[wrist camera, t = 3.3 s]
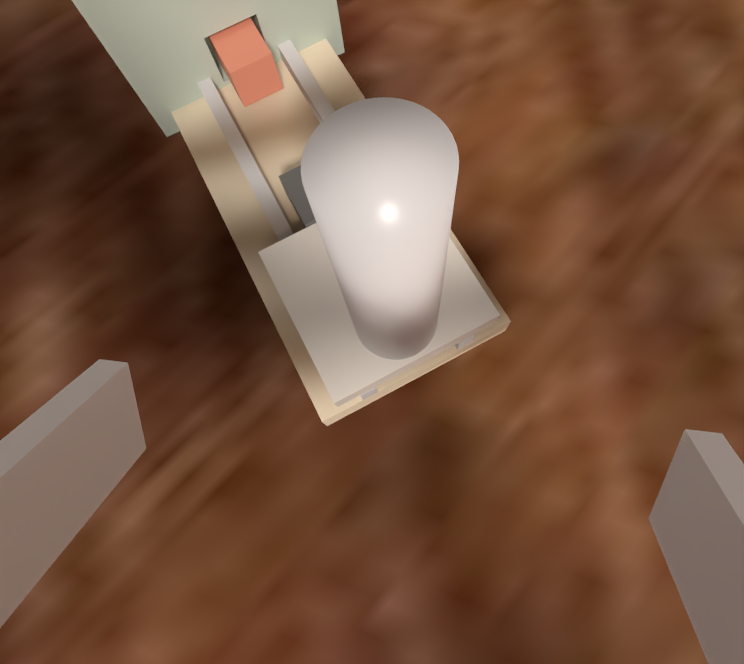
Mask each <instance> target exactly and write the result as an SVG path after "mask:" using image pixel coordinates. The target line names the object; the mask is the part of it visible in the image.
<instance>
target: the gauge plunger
mask: <svg viewBox="0 0 744 664" xmlns="http://www.w3.org/2000/svg"><path fill="white" fill-rule="evenodd" d="M208 38H209V41H210V43H211V45H212V47H213V49H214V52H215V54H216V56H217V58H218V60H219V62H220V64H221V66H222V67H223V69H224V71H225V73H226V75H227V76H228V78H229V80H230V82H231V84H232V86H233V87H234V89H235V91H236V93H237V95H238V96H239V98H240V100H241V102H242V104H243V106H244V107H246V106H248V105H250V104H252V103H254V102H256V101H258V100H260V99H262V98H264V97H267V96H269V95H271V94H273V93H275V92H277V91H279V90H281V89H283V86H282V83H281V80H280V77H279V74H278V71H277V68H276V65H275V62H274V58H273V55H272V53H271V51H270V50H269V48H268V46H267V45H266V43H265V41H264V40H263V38H262V36H261V35H260V33H259V31H258V30H257V28H256V26H255V24H254V23H253V21H252V19H251V18H250V17H249V18H247V19H245V20H242V21H240V22H238V23H236V24H234V25H232V26H229V27H227V28H225V29H223V30H221V31H219V32H217V33H214V34H212V35H210V36H208Z"/></svg>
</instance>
